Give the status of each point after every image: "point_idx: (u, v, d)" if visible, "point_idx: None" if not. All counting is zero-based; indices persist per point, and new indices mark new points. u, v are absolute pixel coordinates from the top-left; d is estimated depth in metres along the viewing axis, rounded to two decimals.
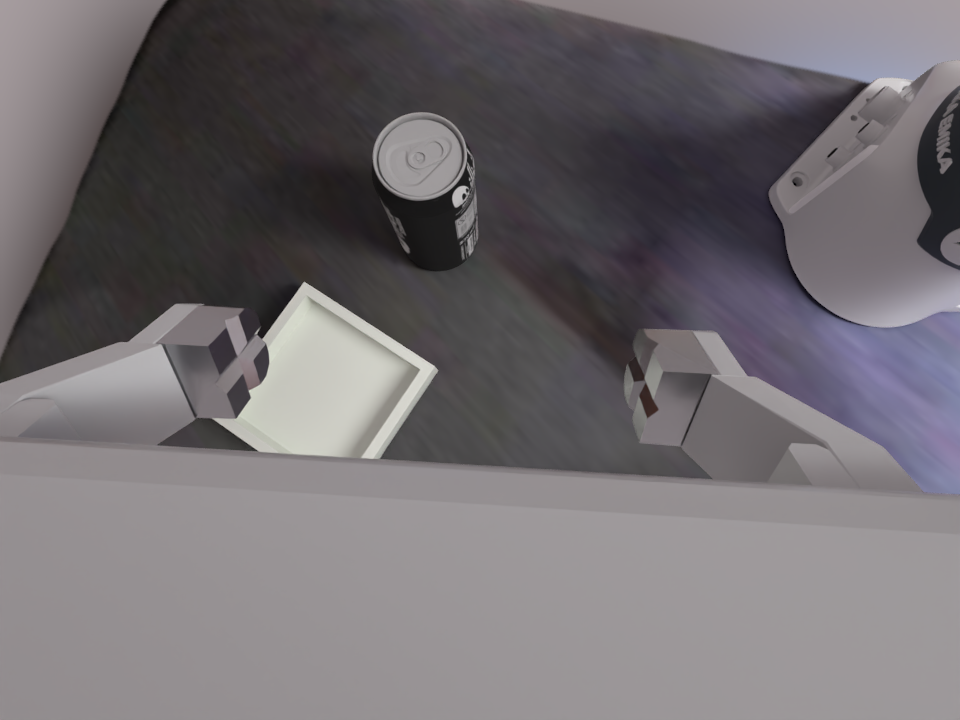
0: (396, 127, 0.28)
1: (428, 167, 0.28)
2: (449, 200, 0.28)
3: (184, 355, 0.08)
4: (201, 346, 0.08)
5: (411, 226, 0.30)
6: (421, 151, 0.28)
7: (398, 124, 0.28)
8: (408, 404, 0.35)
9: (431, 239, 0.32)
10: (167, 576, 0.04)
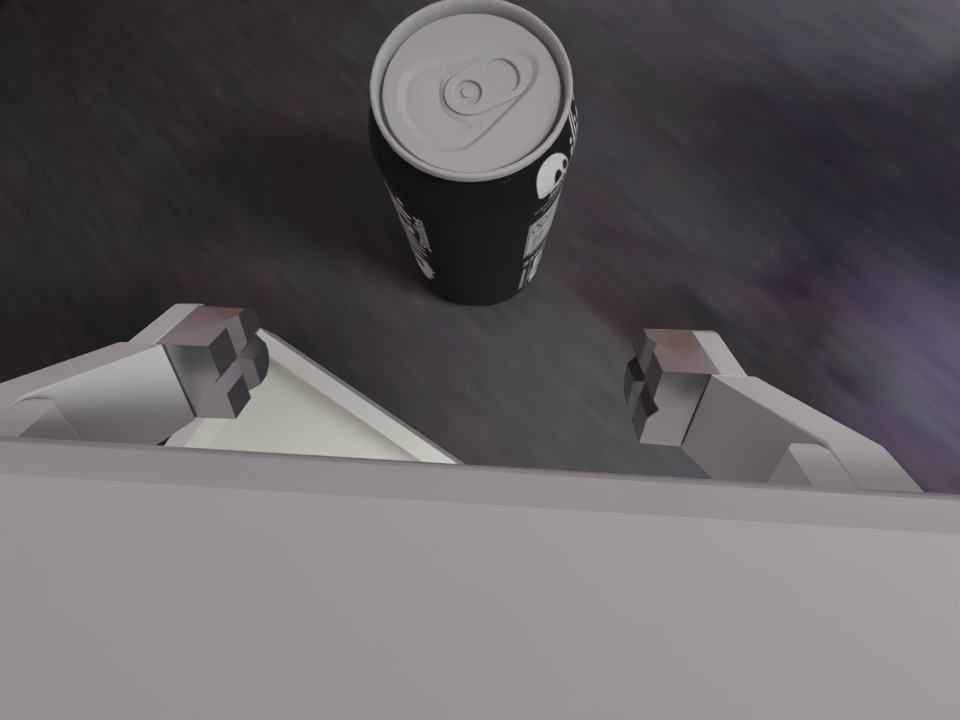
0: (420, 29, 0.13)
1: (489, 111, 0.13)
2: (531, 183, 0.13)
3: (184, 355, 0.08)
4: (201, 346, 0.08)
5: (445, 236, 0.15)
6: (474, 78, 0.13)
7: (423, 26, 0.14)
8: None
9: (479, 260, 0.17)
10: (167, 576, 0.04)
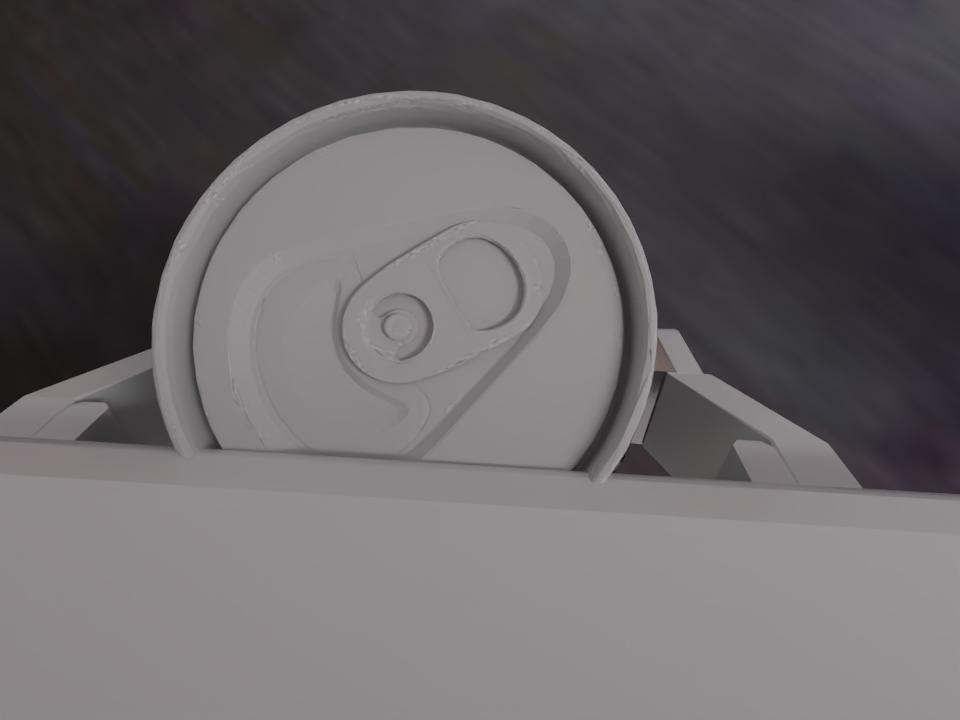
0: (293, 164, 0.06)
1: (450, 373, 0.05)
2: None
3: None
4: None
5: None
6: (415, 289, 0.05)
7: (305, 151, 0.06)
8: None
9: None
10: (167, 576, 0.04)
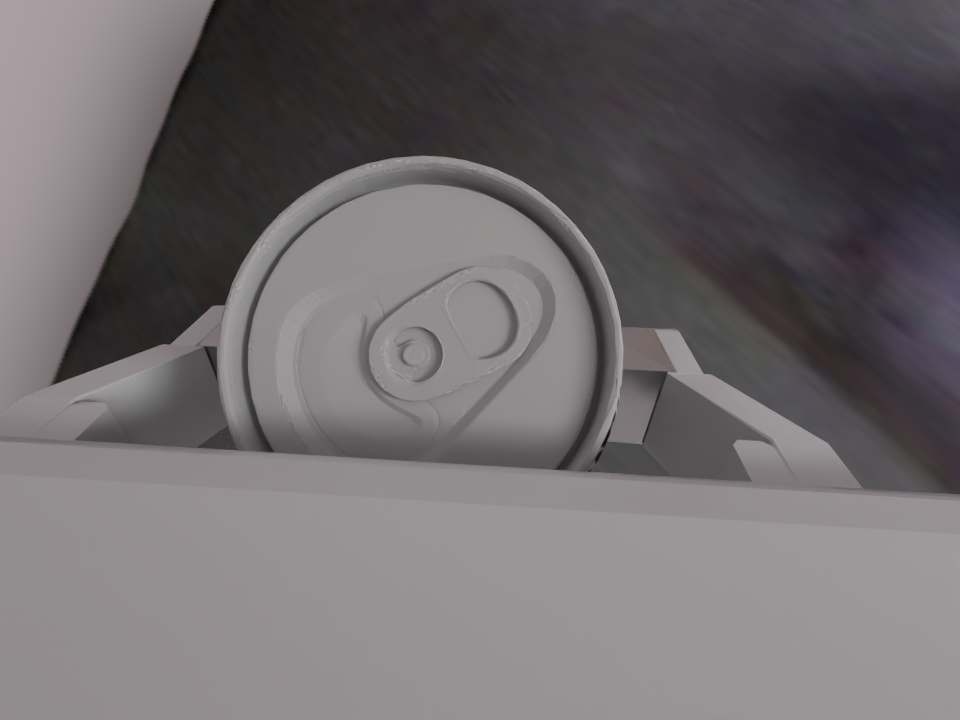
0: (326, 215, 0.07)
1: (456, 392, 0.07)
2: None
3: None
4: None
5: None
6: (428, 323, 0.07)
7: (335, 201, 0.07)
8: None
9: None
10: (167, 576, 0.04)
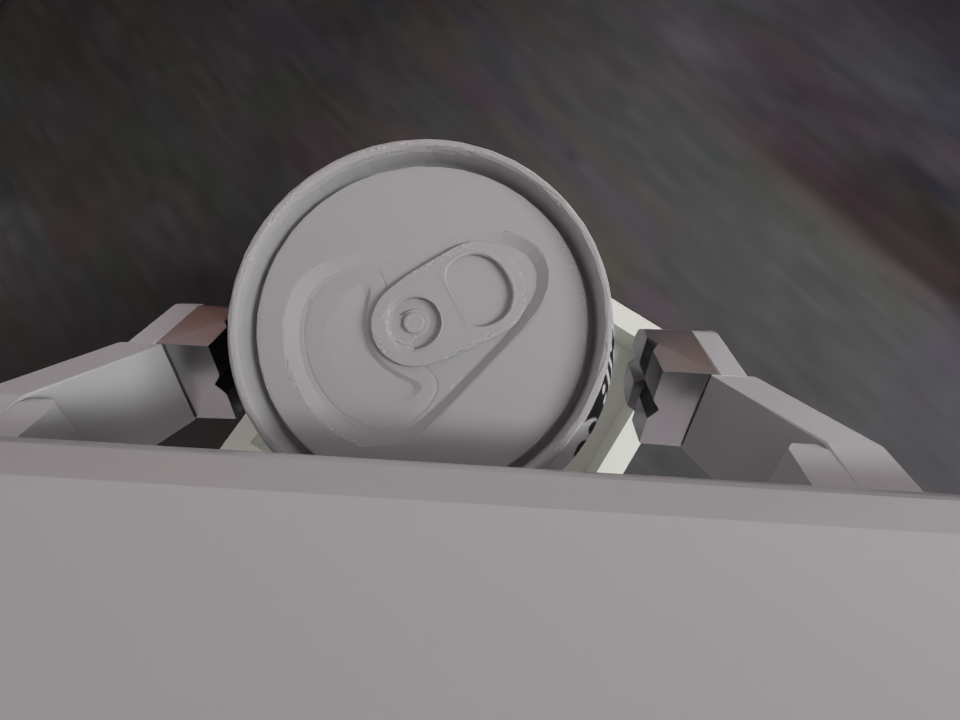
0: (333, 194, 0.07)
1: (453, 359, 0.07)
2: None
3: (184, 355, 0.08)
4: (201, 346, 0.08)
5: None
6: (428, 294, 0.07)
7: (341, 183, 0.08)
8: None
9: None
10: (167, 576, 0.04)
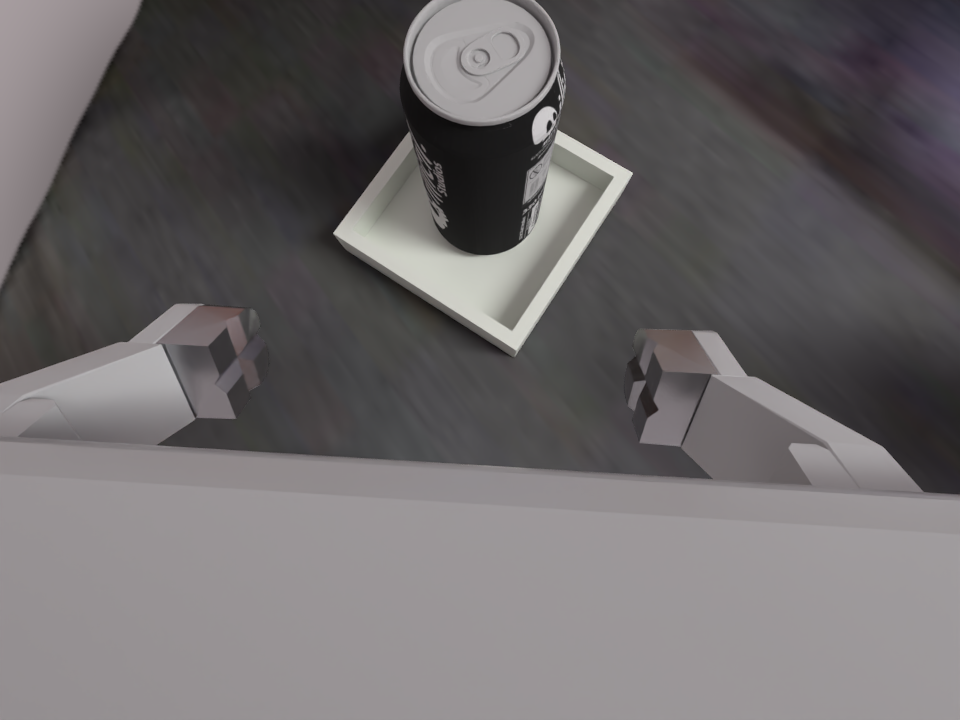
0: (442, 10, 0.17)
1: (495, 73, 0.17)
2: (527, 130, 0.17)
3: (184, 355, 0.08)
4: (201, 346, 0.08)
5: (459, 178, 0.19)
6: (484, 47, 0.17)
7: (444, 7, 0.17)
8: (600, 220, 0.26)
9: (486, 202, 0.21)
10: (167, 576, 0.04)
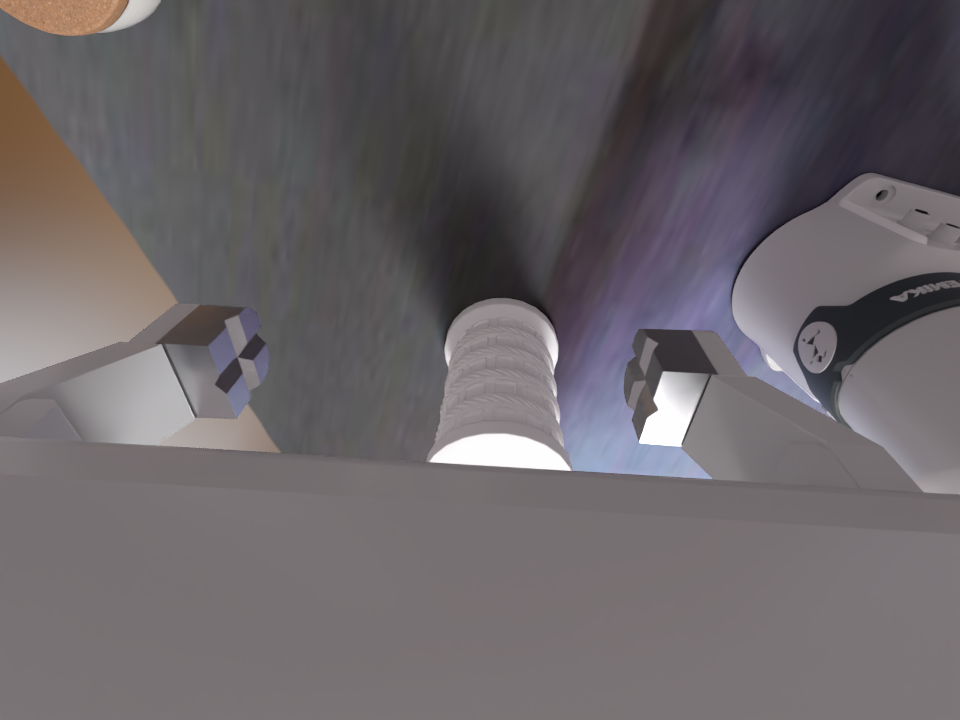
0: None
1: None
2: None
3: (184, 355, 0.08)
4: (201, 346, 0.08)
5: None
6: None
7: None
8: None
9: None
10: (167, 576, 0.04)
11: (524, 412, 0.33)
